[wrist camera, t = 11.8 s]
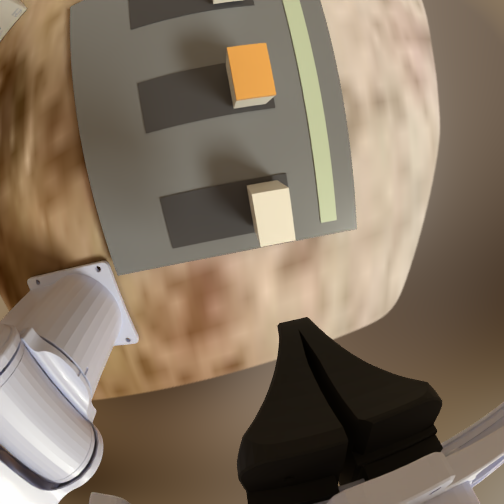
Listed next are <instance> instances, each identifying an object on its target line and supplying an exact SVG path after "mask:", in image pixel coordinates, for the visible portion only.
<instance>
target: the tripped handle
mask: <svg viewBox="0 0 504 504" xmlns="http://www.w3.org/2000/svg"><path fill="white" fill-rule="evenodd" d="M226 69H227V75H228V80H229V86H230V91H231V97H232V102H233V108H234V109H235V108H241V107H248V106H255V105H262V104H266V103H267V102H268V101H270V100H271V99H272V98H273V97H274V96H275V95H276V90H275V85H274V80H273V74H272V69H271V64H270V59H269V54H268V49H267V45H266V43H258V44H249V45H240V46H233V47H227V53H226Z"/></svg>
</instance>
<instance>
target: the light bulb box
mask: <svg viewBox="0 0 504 504" xmlns="http://www.w3.org/2000/svg"><path fill="white" fill-rule="evenodd" d="M26 9H27V8H26V7H25V5H24V4H23V3H22V2H21V1H20V0H0V41H1V40H2V38H3V37H4V36H5V34H6V33H7V32H8V31H9V29H10V28H11V27H12V26H13V24H14V23H15V22H16V21H17V20H18V19H19V17H20V16H21V15H22V14H23V13H24V12H25V11H26Z"/></svg>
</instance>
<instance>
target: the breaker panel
mask: <svg viewBox="0 0 504 504" xmlns="http://www.w3.org/2000/svg"><path fill="white" fill-rule="evenodd" d="M258 43H266V45H267V49H268V54H269V59H270V64H271V69H272V74H273V80H274V85H275V90H276V95H275V96H274V97H273V98H272V99H271V100H270V101H268V102H267V103H266V104H262V105H255V106H248V107H241V108H235V109H234V108H233V102H232V97H231V91H230V86H229V80H228V75H227V69H226V53H227V47H233V46H240V45H249V44H258ZM70 49H71V66H72V79H73V89H74V98H75V106H76V113H77V120H78V126H79V132H80V138H81V144H82V149H83V154H84V159H85V164H86V168H87V173H88V177H89V181H90V186H91V190H92V194H93V198H94V201H95V205H96V209H97V212H98V216H99V219H100V223H101V226H102V230H103V233H104V236H105V239H106V243H107V246H108V249H109V252H110V255H111V258H112V261H113V264H114V266H115V269H116V272H117V275H124V274H129V273H134V272H139V271H144V270H149V269H154V268H159V267H164V266H169V265H174V264H179V263H185V262H190V261H195V260H200V259H205V258H210V257H215V256H220V255H226V254H231V253H236V252H241V251H246V250H251V249H256V248H262V247H267V246H272V245H277V244H282V243H287V242H293V241H298V240H303V239H308V238H313V237H318V236H324V235H329V234H334V233H339V232H344V231H350V230H355V229H357V222H356V205H355V192H354V180H353V169H352V160H351V151H350V143H349V135H348V128H347V121H346V114H345V108H344V102H343V96H342V91H341V85H340V80H339V75H338V70H337V65H336V60H335V56H334V51H333V47H332V43H331V39H330V35H329V31H328V27H327V23H326V19H325V16H324V12H323V9H322V5H321V2H320V0H84V1H81V2H79V3H77V4H75V5H73V6H71V7H70Z"/></svg>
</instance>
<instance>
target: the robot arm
mask: <svg viewBox="0 0 504 504" xmlns="http://www.w3.org/2000/svg"><path fill="white" fill-rule="evenodd" d="M97 266H99V267H100V268H101V270H98V268H97ZM38 280H39V281H40V283H39V282H38ZM27 283H28V286H29V288H30V291H29V292H28V293H27V294H26V295H25V296H24V297H23V298H22V299H21V300H20V301H19V302H18V303H17V304H16V305H15V306H14V307H13V308H12V309H11V310H10V311H9V312H8V314H7V315H6V316H5V317H4V318H3V319H2V320H1V321H0V444H1V445H2V446H3V447H4V448H5V449H6V450H7V451H9V452H10V453H11V454H12V455H11V454H9V453H8V452H7V451H6V450H5V449H4V448H3V447H2V446H1V445H0V504H58V503H59V501H60V500H61V499H62V498H63V497H64V496H65V495H66V494H67V493H68V492H70V491H71V490H73V489H75V488H77V487H79V486H81V485H83V484H84V483H85V482H87V481H88V480H89V479H90V478H91V477H92V476H93V474H94V473H95V472H96V470H97V468H98V466H99V464H100V461H101V458H102V454H103V440H102V436H101V434H100V432H99V430H98V429H97V428H96V427H95V426H94V424H93V419H94V416H95V413H96V409H95V408H94V407H93V405H92V403H91V400H92V397H93V395H94V392H95V389H96V387H97V384H98V382H99V379H100V377H101V374H102V372H103V369H104V367H105V364H106V362H107V360H108V357H109V355H110V353H111V350H112V348H113V346H116V345H125V344H134V343H137V342H138V340H139V336H138V334H137V332H136V330H135V327H134V325H133V323H132V320H131V318H130V316H129V313H128V311H127V309H126V306H125V304H124V301H123V299H122V296H121V294H120V291H119V289H118V286H117V283H116V281H115V278H114V275H113V273H112V270H111V267H110V265H109V263H108V262H107V261H99V262H94V263H90V264H85V265H81V266H77V267H72V268H68V269H64V270H59V271H55V272H51V273H47V274H43V275H38V276H34V277H30V278H29V279H28V280H27ZM278 333H279V349H278V357H277V362H276V367H275V371H274V375H273V378H272V381H271V384H270V387H269V390H268V392H267V395H266V397H265V400H264V402H263V404H262V406H261V408H260V410H259V412H258V413H257V415H256V417H255V419H254V421H253V422H252V424H251V425H250V427H249V428H248V430H247V431H246V433H245V434H244V436H243V438H242V441H241V445H240V449H239V453H238V459H237V470H238V478H239V481H240V482H241V484H242V486H243V487H244V489H245V490H246V492H247V499H248V504H480V502H479V500H478V498H477V496H476V494H475V493H474V491H473V489H472V487H474V486H475V485H476V484H478V483H479V482H481V481H482V480H483V479H484V478H486V477H487V476H488V475H490V474H491V473H492V472H493V471H495V470H496V469H497V468H498V467H499V466H500V465H502V464H503V463H504V402H503V403H502V404H500V405H499V406H498V407H496V408H495V409H494V410H492V411H491V412H490V413H488V414H487V415H486V416H484V417H483V418H481V419H480V420H478V421H477V422H475V423H474V424H472V425H471V426H469V427H468V428H466V429H465V430H463V431H461V432H460V433H458V434H456V435H455V436H453V437H451V438H450V439H448V440H446V441H444V442H443V443H440V441H439V440H438V438H437V437H436V435H435V434H436V433H437V429H436V428H435V426H434V422H435V420H436V418H437V416H438V414H439V412H440V409H441V407H442V400H441V398H440V397H439V396H438V394H437V393H436V391H435V390H434V389H433V388H432V387H431V386H430V385H429V383H428V382H424V381H419V380H414V379H410V378H405V377H402V376H398V375H396V374H392V373H390V372H387V371H385V370H382V369H380V368H378V367H375V366H373V365H371V364H368V363H366V362H365V361H363V360H361V359H360V358H358V357H356V356H355V355H353V354H351V353H350V352H348V351H347V350H345V349H344V348H342V347H341V346H340V345H339V344H337V343H336V342H335V341H334V340H332V339H331V338H330V337H329V336H327V335H326V334H325V333H324V332H323V331H322V330H321V329H319V328H318V327H317V326H316V325H315V324H314V323H313V322H312V321H311V320H310V319H309V318H308V317H305V318H301V319H297V320H292V321H287V322H283V323H279V325H278ZM127 338H130V340H129V339H127ZM338 482H339V484H340V486H338ZM89 504H129V503H128V502H127V501H126V500H124V499H122V498H120V497H117V496H112V495H106V494H100V493H95V492H92V493H91V496H90V501H89Z"/></svg>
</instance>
